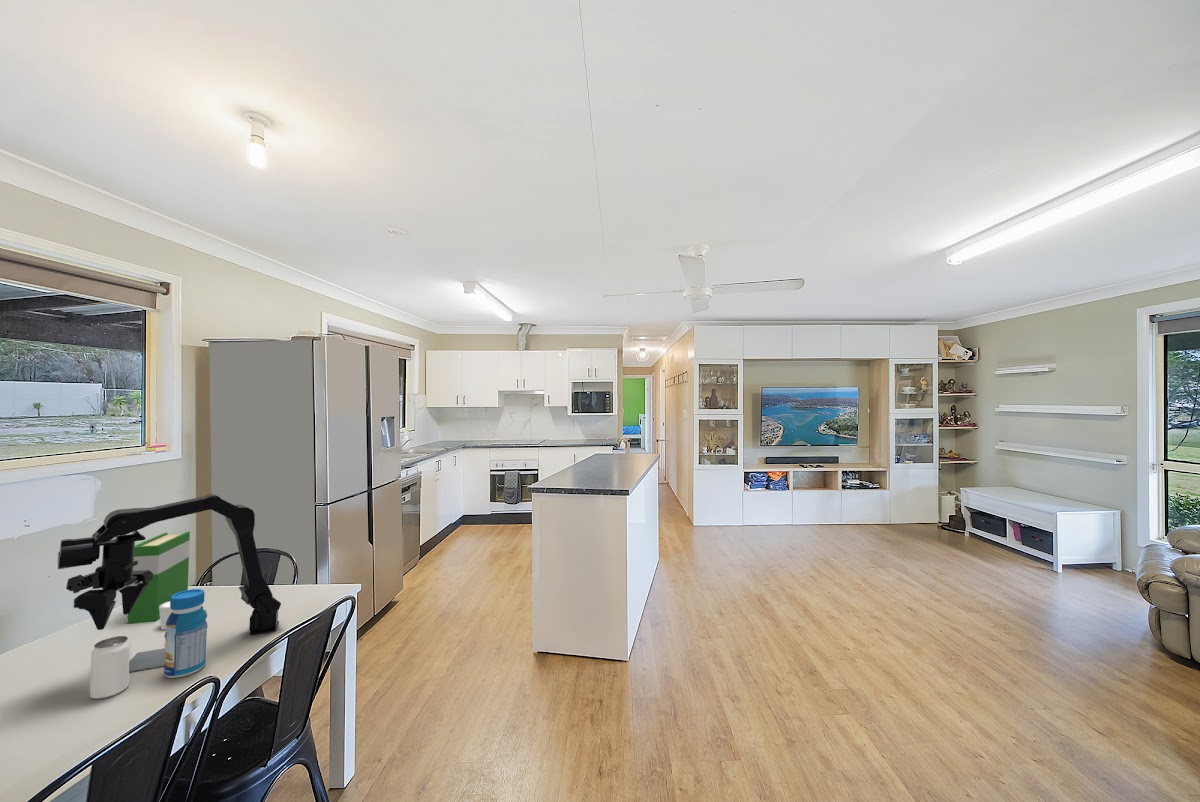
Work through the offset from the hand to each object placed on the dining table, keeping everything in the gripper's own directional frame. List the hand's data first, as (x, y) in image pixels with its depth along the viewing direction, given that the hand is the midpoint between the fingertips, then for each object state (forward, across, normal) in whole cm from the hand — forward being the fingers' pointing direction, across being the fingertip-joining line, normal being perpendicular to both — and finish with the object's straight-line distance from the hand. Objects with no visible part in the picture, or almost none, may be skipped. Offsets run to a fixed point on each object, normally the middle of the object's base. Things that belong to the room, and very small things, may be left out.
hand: (114, 621), depth 119 cm
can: (+14, +8, +4) cm, 17 cm away
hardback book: (+14, -42, -11) cm, 45 cm away
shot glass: (+14, -28, -1) cm, 32 cm away
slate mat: (+13, -6, +6) cm, 16 cm away
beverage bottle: (+14, +2, +17) cm, 21 cm away
